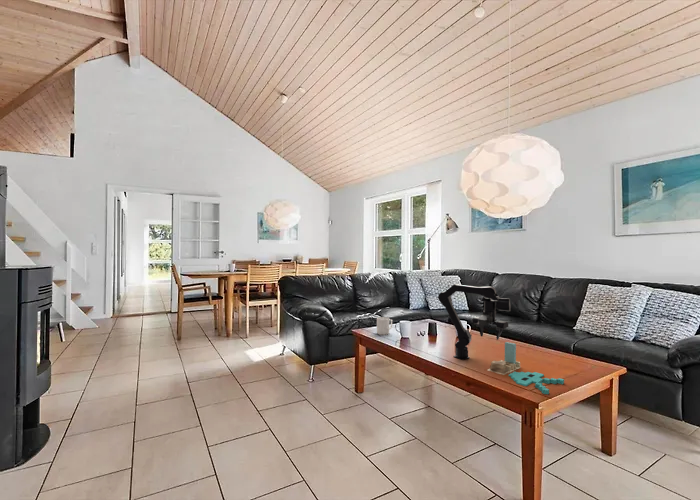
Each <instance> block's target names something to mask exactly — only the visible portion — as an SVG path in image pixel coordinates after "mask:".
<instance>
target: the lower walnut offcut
mask: <svg viewBox="0 0 700 500" xmlns="http://www.w3.org/2000/svg"><path fill="white" fill-rule="evenodd" d="M489 369H490V370H492V371H496V372H499V373H503V374H504V373H506V372H508V368H507V367H506V368H504V369H501V368H497V367H492V366H491V365H490V367H489ZM492 371H491V372H492Z"/></svg>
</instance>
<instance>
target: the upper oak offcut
mask: <svg viewBox="0 0 700 500" xmlns="http://www.w3.org/2000/svg"><path fill="white" fill-rule="evenodd" d="M498 361H499V360H493V361H491V362H490V364H491V365H490V366H492V367H497V368H501V369H504V368H506V363H503V362H498Z"/></svg>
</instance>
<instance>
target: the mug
mask: <svg viewBox="0 0 700 500" xmlns="http://www.w3.org/2000/svg"><path fill="white" fill-rule="evenodd" d="M392 328H393V319H390V317H386V316H379V317H378V316H377V318H376V333H377V335H380V336H388V335H389V333H390V330H391V329H392Z"/></svg>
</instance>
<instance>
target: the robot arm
mask: <svg viewBox="0 0 700 500" xmlns="http://www.w3.org/2000/svg"><path fill="white" fill-rule="evenodd" d="M456 292H461V293H468V294H475V295H479V296H481V297H482V298H481V299H480V302H484V303H483V304H484V305H483V311H482V314H481V315H480V316H475V317H472V319H471V323H472V324H473V325H474V326H476V328H477V330H478V331H479V334H480V337H481V338H483V335H484V328H485V326H487V325H493V326H496V327H495V330H496V340H497V341H498V340H499V339H500V336H501V334H502V332H503V331H504V330H505V329H507V328H509V322H508V321H505V320H504V321H503V320H498V321H497V318H496V314H497V311H496V309H497V310H498V311H501V312H504V311H505V312H511V299H510V298H509V297H507V298H504V297H503V298H502V297H500V296H499V294H498V293H497V289H496V288H495V287H494V286H473V285H463V284H458V283H454V284H452V285H451V286H450V287H449V288H447V290H445V291H441V292H440V293H439V294H438V296H437V299H438V301H439V303H440V304H441V305H442V306H443V307H444V308H445V310H446V312H447V313H448V316H449V318H450V320H451V322H452V324H453V326H454V328H455V330H456V333H457V338H458V340H457V341H456V342H455V344H454V347H455V355H453V358H456V359H459V360H467V359H470V356H469V350H468V349H469V347H467V346H469V344H470V343H471V342H472V339H473V338H472V336H473V335H472V334H471V332H470V330H469V329H466V328H465V327H464V326H463V324H462V321H461V319H460V317H459V315H458V314H457V311H456V309H455V307H454V304H453V300H452V296H453V295H454V294H455V293H456Z"/></svg>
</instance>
